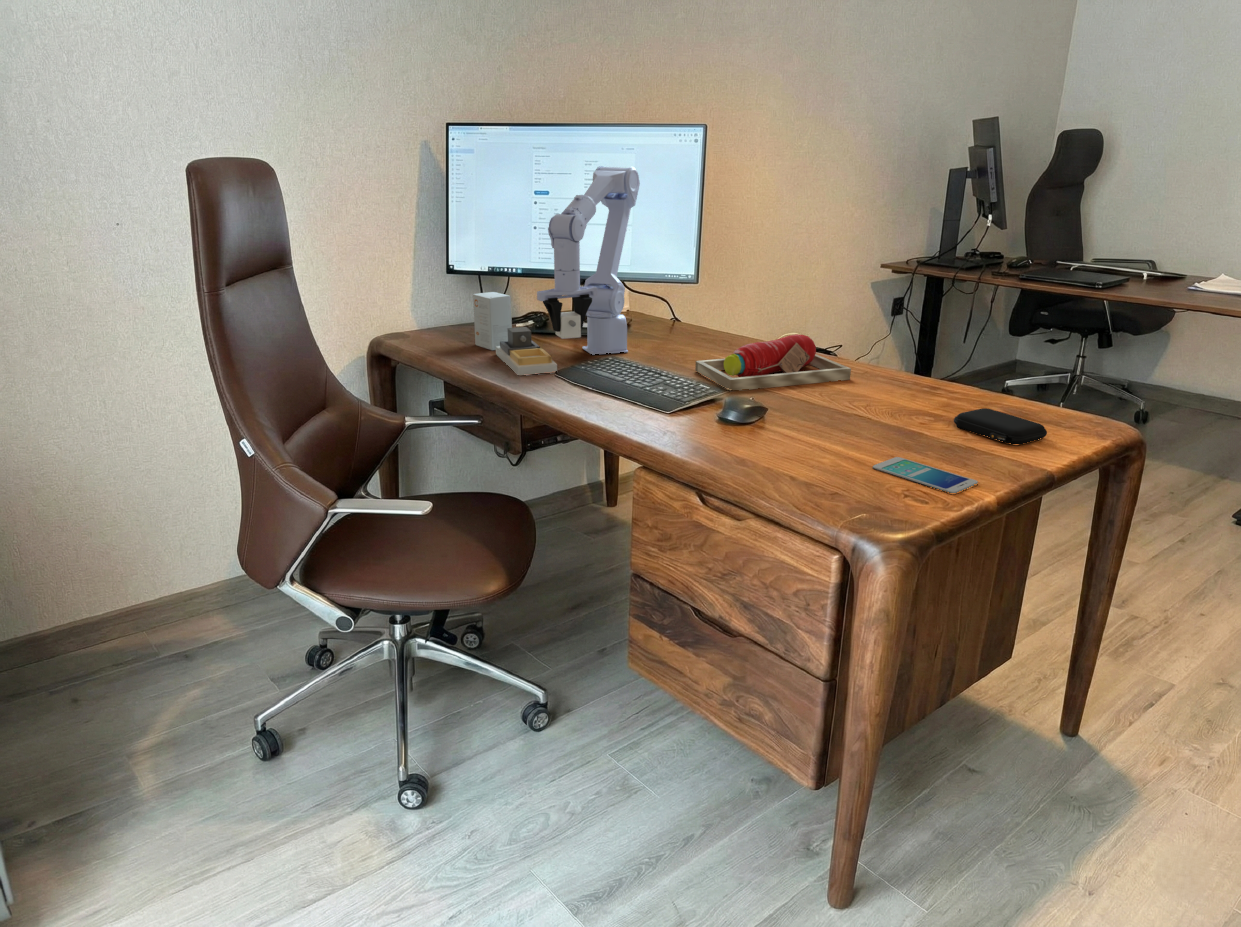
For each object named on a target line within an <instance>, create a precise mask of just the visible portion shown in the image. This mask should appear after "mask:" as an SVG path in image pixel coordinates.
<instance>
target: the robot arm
mask: <svg viewBox="0 0 1241 927" xmlns="http://www.w3.org/2000/svg"><path fill="white" fill-rule="evenodd" d="M639 176H640V175H639V173H638V171H637V169H636V168H635V167H634V166H628V167H626V166H625V167H623V166H622V167H621V166H619V167H618V166H603V165H600V166H597V168H596V169H595V171H593V173H592V183H591V184H590V185H589V187H588V188H587V190H586V191H585V192H584V194H579V195H578V194H576V195H575V196H574V197H573V200H571V202H570V203H569V204H568V205H567V206H566V207H565V209H564V210H563V211H562V212H561V213H556V214H554V215H553V216H552V217H550V219H549V222H548V227H547V232H548V236H549V238H550V243H551V244H550V246H551V247H552V249H553V262H554V263H553V268H554V270H553V271H554V272H553V273H554V288H550V289H544V290H539V291H536V299H537V301H539V302H542V303H543V305H544V308H546V312H548V316H549V318H550V322H551V325H552V329H553V330H552V331H554V332H556V331H557V332H560V330H561V312H562V308H563V304H564V303H563V302H560V300H561V299H562V300H563V299H569V298H572V303H573V309H574V312H575V313H577V314H579V315H581V330H582V329H583V328H584V323H585V319H586V318H587V319H586V322H587V323H586V324H587V325H586V327H587V332H586V333H587V334H586V335H587V336H586V337H587V342H586V343H587V345H583V346H582V349H583V350H584V351H586V352H587V353H589V355H591V354H592V355H591V356H596V355H595V354H599V355H610V354H609V353H611V354H620V352H624V353H629V350H628V325H627V324H628V323H627V319H626V316H625V315H624V314H621V313H622V311H623V310H624V307H625V292H626V286H624V284H623V283H622V281H621V280H620V279H619V278H618V277H617V276H618V272H619V266H620V262H621V257H622V253H623V248H624V244H625V239H626V234H627V229H628V224H629V220H630V215H631V210H632V208H633V207H635V206H636V203H637V200H638V195H639V190H640V184H641V183H640V177H639ZM600 202H601V205H603V206H604V207H607V209H608V214H607V219H606V223H605V228H604V234H603V238H602V242H601V246H600V247H601V248H600V251H599V257H598V261H597V268H596V270H595V273H594V274H592V275H591V276H589V277H587V278H586V279H585V282H584V285H583V286H581V273H580V272H581V268H580V267H581V266H580V265H581V261H580V256H581V254H580V253H581V252H580V249H581V248H580V247H581V246H580V242H581V240H583V239H584V235H585V232H586V229H587V224H588V223H590V220H591V219H593V217H594V216H595V215H596V212H597V205H598V204H599V203H600ZM559 299H560V300H559ZM606 353H608V354H606Z"/></svg>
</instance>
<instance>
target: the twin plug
mask: <svg viewBox="0 0 1241 927" xmlns="http://www.w3.org/2000/svg"><path fill="white" fill-rule="evenodd" d="M507 329H508V346H509V347H510V348H520V347H532V341H533V340H532V330H530V328H528V327H527V326H522V327H521V326H520V327H518V326H517V327H512V328H507Z"/></svg>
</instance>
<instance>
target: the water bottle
mask: <svg viewBox="0 0 1241 927" xmlns="http://www.w3.org/2000/svg"><path fill="white" fill-rule="evenodd" d="M816 346H817V345H816V344H815V342H814V340H813V339H812V338H810V337H809V336H808V335H805V334H800V333H799V334H798V333H797V334H789V335H787V336H784V337H779V338H776V339H774V340H773V339H772V340H769V341H768V340H767V341H756V342H753V343H752V342H751V343H747V344H743V345H742V346H740V347H738V348H737V349H735V350H734V351H733V353H732V354H729V355H728V356H726V357H725V358H724V359H725V360H724V369H725V371H724V372H725V374H726V375H728V376H732V377H734V376H737V378H738V377H749V376H760V375H770V374H773V373H774V374H775V373H777V372H782V373H792V372H800V369H802V368H803V367H806V366H808V365H810V364H809V363H810V362H811V361H812V360H813V359H814V356H815V354H817V347H816Z"/></svg>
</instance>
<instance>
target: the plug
mask: <svg viewBox="0 0 1241 927" xmlns="http://www.w3.org/2000/svg"><path fill="white" fill-rule="evenodd" d="M581 331H582V329H581V315H579V314H577V313H575V311H561V330H560V332H557V331H555V335H556V336H557V337H559V338H560V339H561V340H563V339H575V338H582V332H581Z"/></svg>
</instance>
